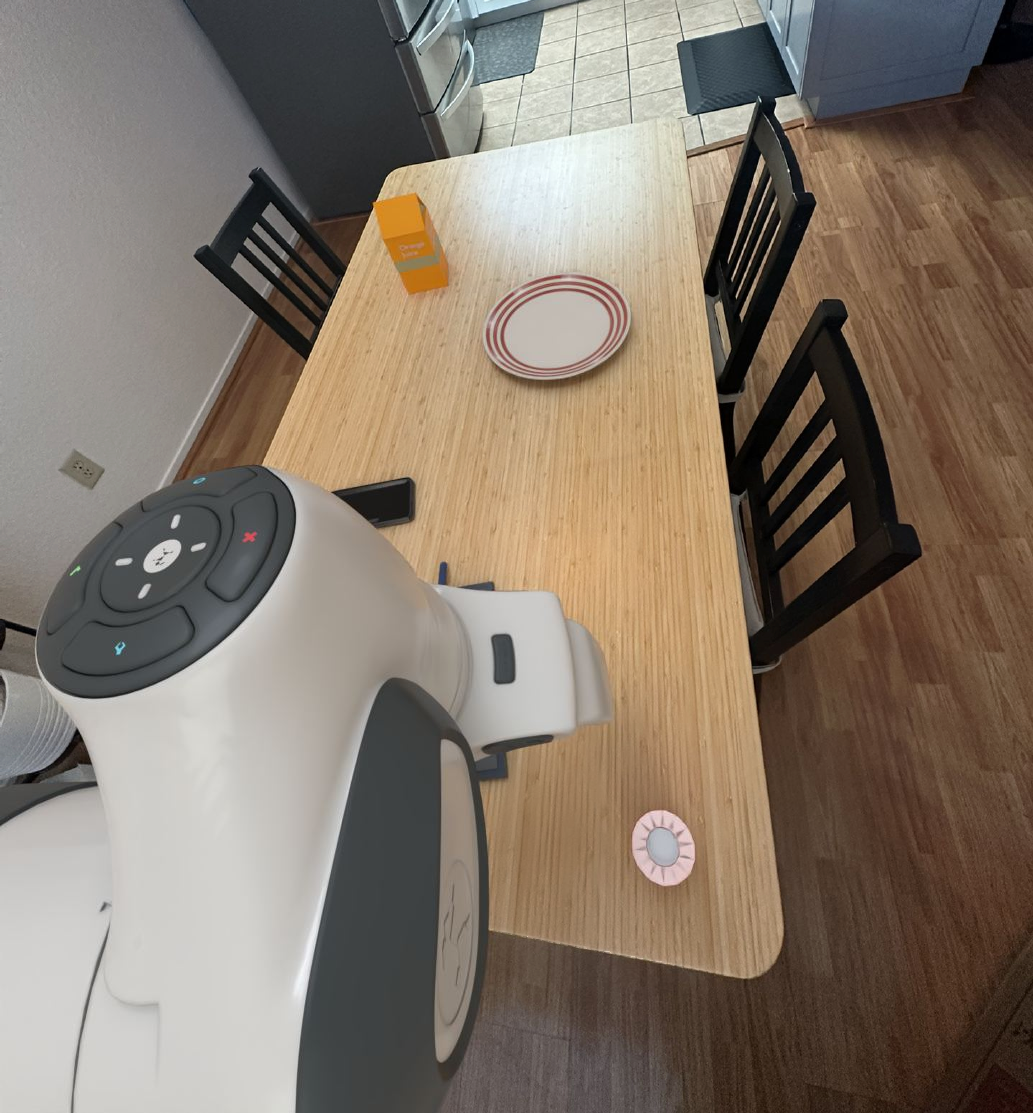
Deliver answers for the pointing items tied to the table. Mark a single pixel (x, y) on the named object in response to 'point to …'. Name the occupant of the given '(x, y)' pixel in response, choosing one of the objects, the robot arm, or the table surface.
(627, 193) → the table surface
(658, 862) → the holder
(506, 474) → the table surface
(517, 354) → the dinner plate
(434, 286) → the orange juice
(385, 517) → the phone
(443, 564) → the stylus
